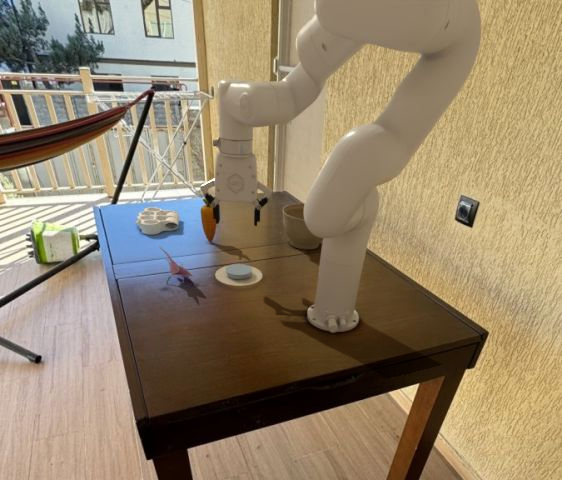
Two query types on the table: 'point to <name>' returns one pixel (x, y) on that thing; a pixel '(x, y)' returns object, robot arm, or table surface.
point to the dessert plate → (250, 280)
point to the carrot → (208, 220)
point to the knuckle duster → (157, 220)
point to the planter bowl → (298, 228)
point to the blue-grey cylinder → (238, 271)
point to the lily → (177, 269)
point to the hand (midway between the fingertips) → (236, 223)
